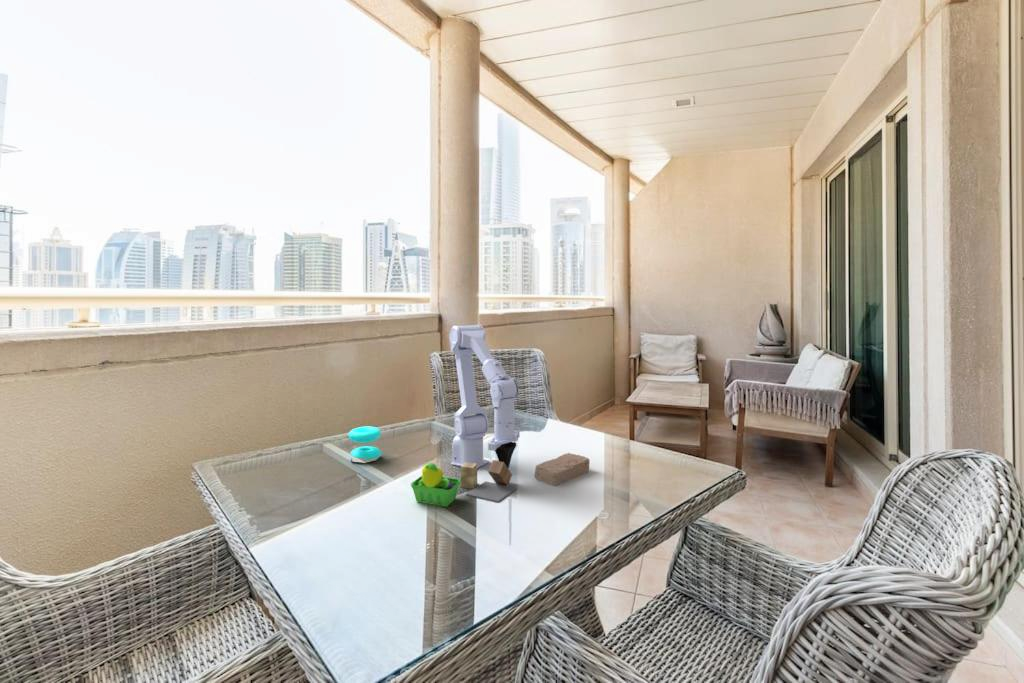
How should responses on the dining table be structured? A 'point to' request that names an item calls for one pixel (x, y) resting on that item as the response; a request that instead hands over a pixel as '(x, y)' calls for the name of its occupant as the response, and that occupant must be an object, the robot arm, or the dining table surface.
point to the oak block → (468, 475)
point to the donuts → (365, 436)
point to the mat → (491, 491)
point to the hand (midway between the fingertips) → (504, 468)
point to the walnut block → (500, 473)
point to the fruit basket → (435, 486)
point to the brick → (561, 469)
